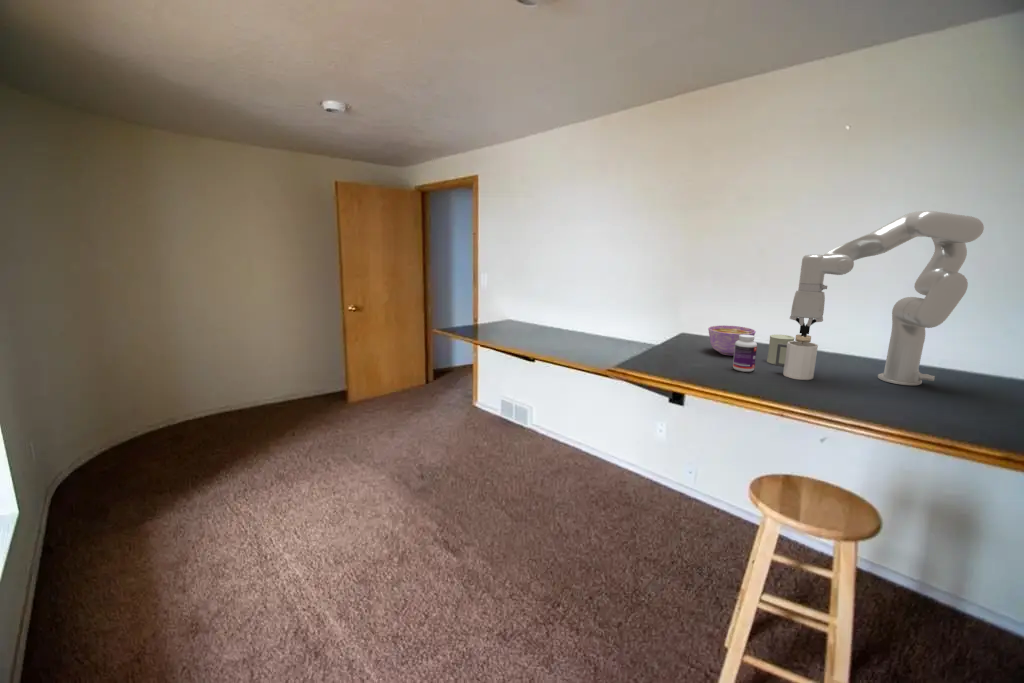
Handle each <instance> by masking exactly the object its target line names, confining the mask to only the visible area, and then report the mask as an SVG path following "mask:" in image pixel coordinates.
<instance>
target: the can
mask: <svg viewBox="0 0 1024 683" xmlns="http://www.w3.org/2000/svg"><path fill="white" fill-rule="evenodd" d="M790 341H795V337H794V336H792V335H787V334H770V335H769V343H768V353H767V358H766V362H767V363H769V364H772V365H775V363H776V355H777V347H778V343H780V344H787V343H788V342H790ZM786 349H787V348H786V347H781V350H780V358H779V363H783V364H785V357H786Z"/></svg>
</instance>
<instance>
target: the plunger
mask: <svg viewBox="0 0 1024 683" xmlns="http://www.w3.org/2000/svg"><path fill="white" fill-rule="evenodd" d="M811 340H812V335H809V334H807V336H801V334H795V338H794V341H798V342H801V346H804V342H810V343H812V342H811Z"/></svg>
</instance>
